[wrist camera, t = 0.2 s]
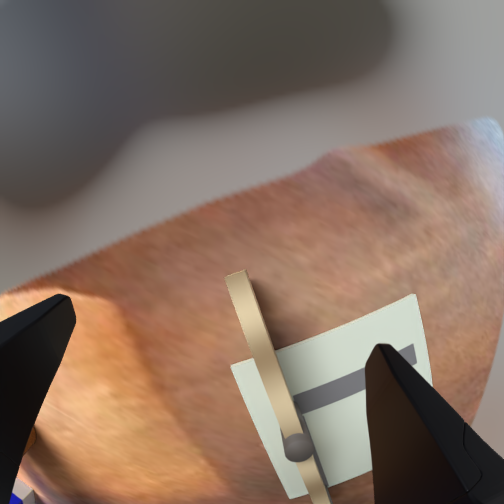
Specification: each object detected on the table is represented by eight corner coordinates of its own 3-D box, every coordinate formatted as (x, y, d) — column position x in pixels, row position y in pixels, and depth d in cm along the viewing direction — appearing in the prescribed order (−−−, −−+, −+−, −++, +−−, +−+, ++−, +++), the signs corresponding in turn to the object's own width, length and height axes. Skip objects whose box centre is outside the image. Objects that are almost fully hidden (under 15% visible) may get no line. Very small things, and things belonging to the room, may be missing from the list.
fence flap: (301, 414, 21) (316, 456, 15) (280, 421, 21) (289, 465, 15) (250, 267, 22) (249, 269, 15) (226, 275, 22) (216, 280, 15)
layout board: (434, 432, 22) (437, 435, 21) (289, 495, 22) (289, 499, 21) (412, 293, 22) (415, 294, 22) (231, 364, 22) (230, 367, 22)
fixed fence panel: (327, 487, 22) (343, 533, 15) (311, 492, 22) (324, 539, 15) (301, 415, 22) (317, 463, 15) (283, 421, 22) (293, 471, 15)
